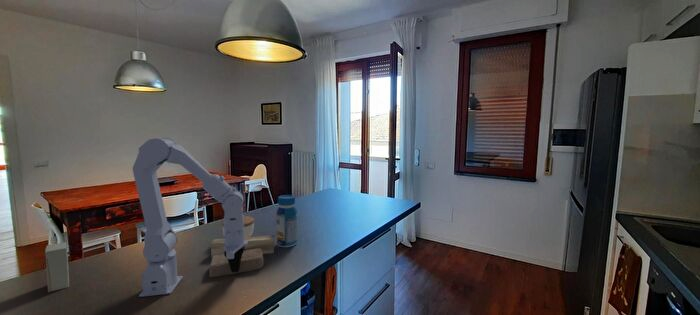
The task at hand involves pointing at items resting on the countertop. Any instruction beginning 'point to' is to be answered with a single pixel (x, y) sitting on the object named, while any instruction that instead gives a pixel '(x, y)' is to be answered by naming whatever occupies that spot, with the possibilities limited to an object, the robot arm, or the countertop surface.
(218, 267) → the brick
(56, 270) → the skincare box
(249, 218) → the white round tub
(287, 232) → the beverage bottle
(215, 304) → the countertop surface
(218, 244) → the batten
